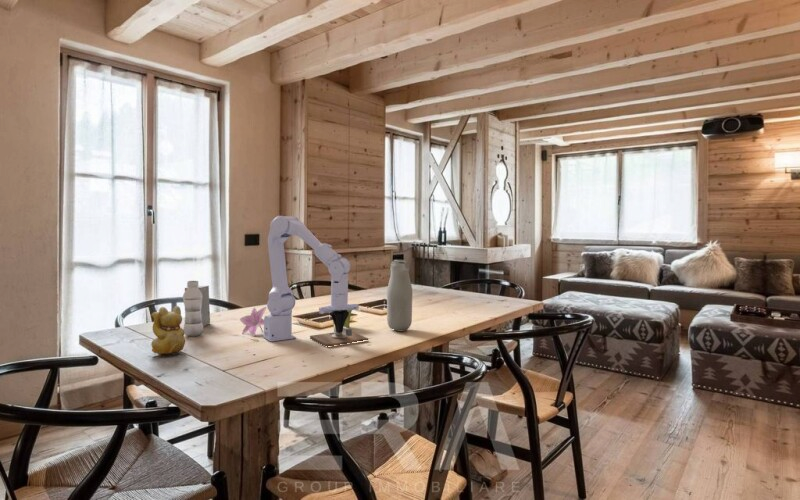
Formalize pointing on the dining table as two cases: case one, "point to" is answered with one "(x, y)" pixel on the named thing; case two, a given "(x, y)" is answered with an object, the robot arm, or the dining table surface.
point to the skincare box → (204, 304)
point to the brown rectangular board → (337, 338)
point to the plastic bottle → (193, 309)
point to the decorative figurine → (167, 332)
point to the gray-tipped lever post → (345, 331)
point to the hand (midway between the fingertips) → (339, 332)
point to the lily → (253, 321)
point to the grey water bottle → (399, 296)
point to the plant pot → (347, 320)
